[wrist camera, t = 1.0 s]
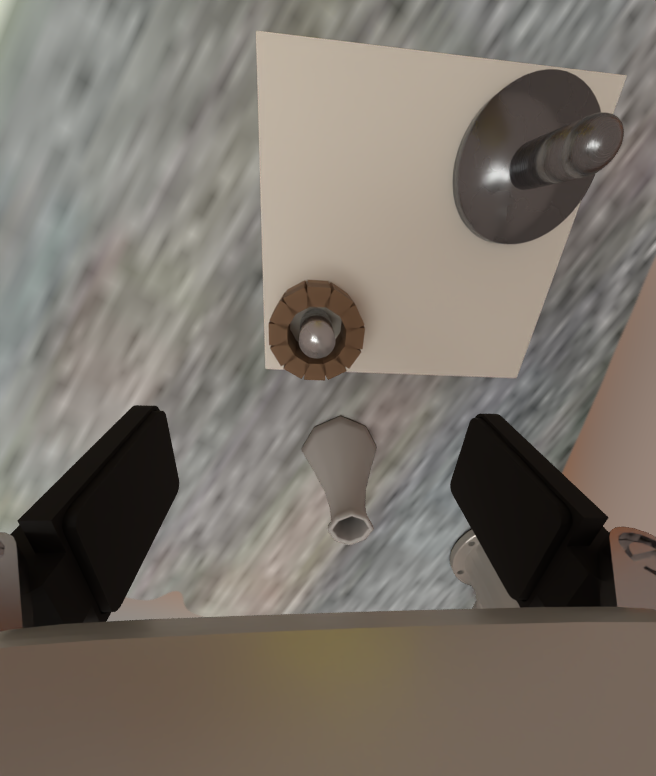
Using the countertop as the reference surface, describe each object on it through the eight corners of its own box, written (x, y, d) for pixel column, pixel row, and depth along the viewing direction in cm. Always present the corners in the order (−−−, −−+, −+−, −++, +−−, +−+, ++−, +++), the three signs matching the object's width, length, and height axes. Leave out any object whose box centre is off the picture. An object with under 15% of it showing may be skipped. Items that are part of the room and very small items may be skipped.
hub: (557, 247, 23) (648, 252, 17) (439, 239, 22) (489, 240, 16) (615, 85, 19) (763, 13, 13) (473, 69, 18) (557, -17, 12)
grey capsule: (329, 339, 25) (334, 359, 21) (300, 337, 25) (298, 357, 21) (332, 308, 24) (336, 324, 20) (300, 307, 24) (299, 322, 19)
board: (506, 371, 29) (516, 378, 27) (267, 362, 27) (265, 369, 26) (605, 86, 20) (627, 75, 19) (259, 45, 18) (256, 30, 17)
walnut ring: (352, 363, 26) (358, 381, 23) (274, 360, 25) (269, 378, 22) (361, 282, 23) (369, 290, 20) (273, 277, 22) (267, 284, 19)
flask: (340, 402, 29) (354, 476, 20) (388, 445, 32) (419, 527, 23) (288, 447, 31) (280, 533, 22) (337, 484, 34) (348, 574, 25)
